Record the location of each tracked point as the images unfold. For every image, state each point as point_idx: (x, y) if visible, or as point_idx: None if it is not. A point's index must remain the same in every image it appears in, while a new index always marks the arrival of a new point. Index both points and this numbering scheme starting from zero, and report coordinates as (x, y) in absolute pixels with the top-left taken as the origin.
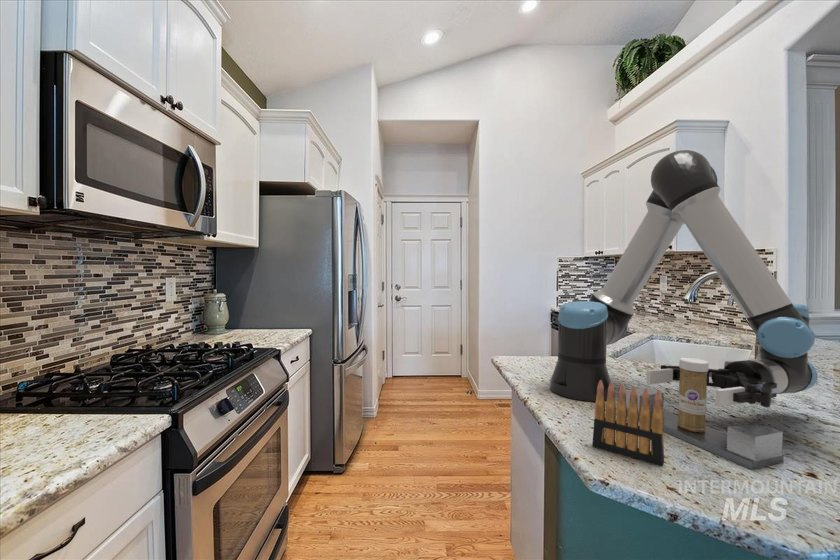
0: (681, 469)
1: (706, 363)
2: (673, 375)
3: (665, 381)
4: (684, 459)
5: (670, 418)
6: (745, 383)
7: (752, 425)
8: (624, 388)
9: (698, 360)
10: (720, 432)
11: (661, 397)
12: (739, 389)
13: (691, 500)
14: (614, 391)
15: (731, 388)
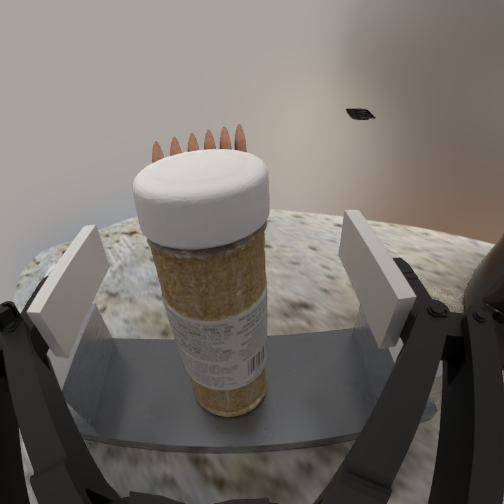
0: (145, 265)
1: (134, 180)
2: (448, 383)
3: (366, 309)
4: (158, 288)
5: (312, 393)
6: (32, 408)
7: (59, 364)
8: (205, 137)
9: (177, 170)
10: (176, 438)
11: (152, 153)
12: (43, 289)
13: (111, 234)
14: (220, 142)
15: (62, 266)
